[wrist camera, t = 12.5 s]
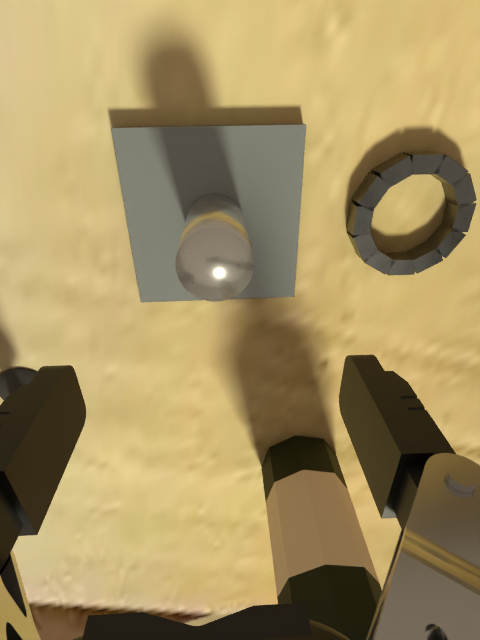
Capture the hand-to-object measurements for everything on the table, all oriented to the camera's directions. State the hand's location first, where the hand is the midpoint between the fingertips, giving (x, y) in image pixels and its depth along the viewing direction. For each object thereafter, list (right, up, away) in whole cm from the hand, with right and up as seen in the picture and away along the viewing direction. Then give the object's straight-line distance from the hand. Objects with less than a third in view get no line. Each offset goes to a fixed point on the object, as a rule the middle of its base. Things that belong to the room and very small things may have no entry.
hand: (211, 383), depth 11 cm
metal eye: (+13, +10, +16) cm, 23 cm away
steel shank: (-1, +9, +15) cm, 17 cm away
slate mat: (-1, +9, +15) cm, 18 cm away
